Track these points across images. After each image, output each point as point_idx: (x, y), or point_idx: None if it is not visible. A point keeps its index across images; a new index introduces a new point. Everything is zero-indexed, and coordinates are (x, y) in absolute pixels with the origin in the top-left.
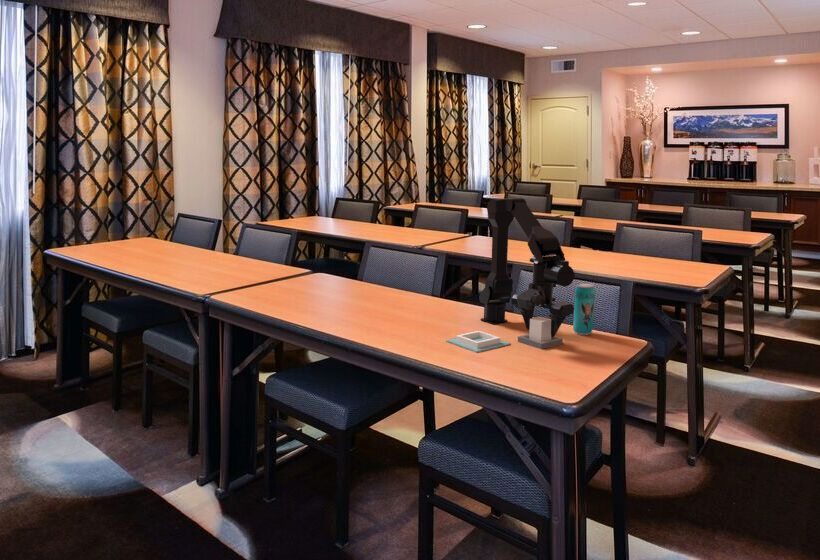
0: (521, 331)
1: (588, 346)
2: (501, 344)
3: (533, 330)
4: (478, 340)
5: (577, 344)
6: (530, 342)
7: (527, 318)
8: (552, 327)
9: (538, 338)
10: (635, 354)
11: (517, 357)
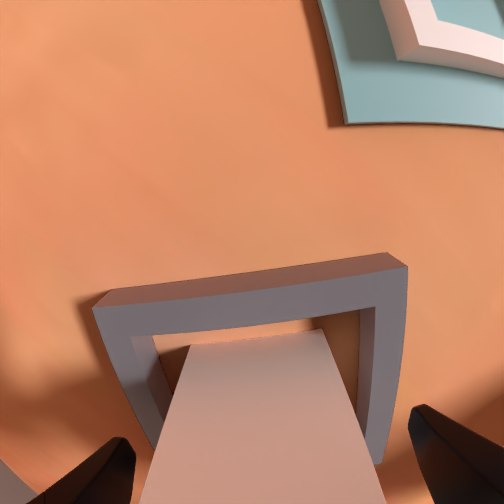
0: (486, 396)
1: None
2: (348, 31)
3: (286, 417)
4: (480, 2)
5: None
6: (227, 284)
7: (466, 484)
8: (61, 490)
9: (209, 376)
10: (23, 482)
11: (53, 14)
